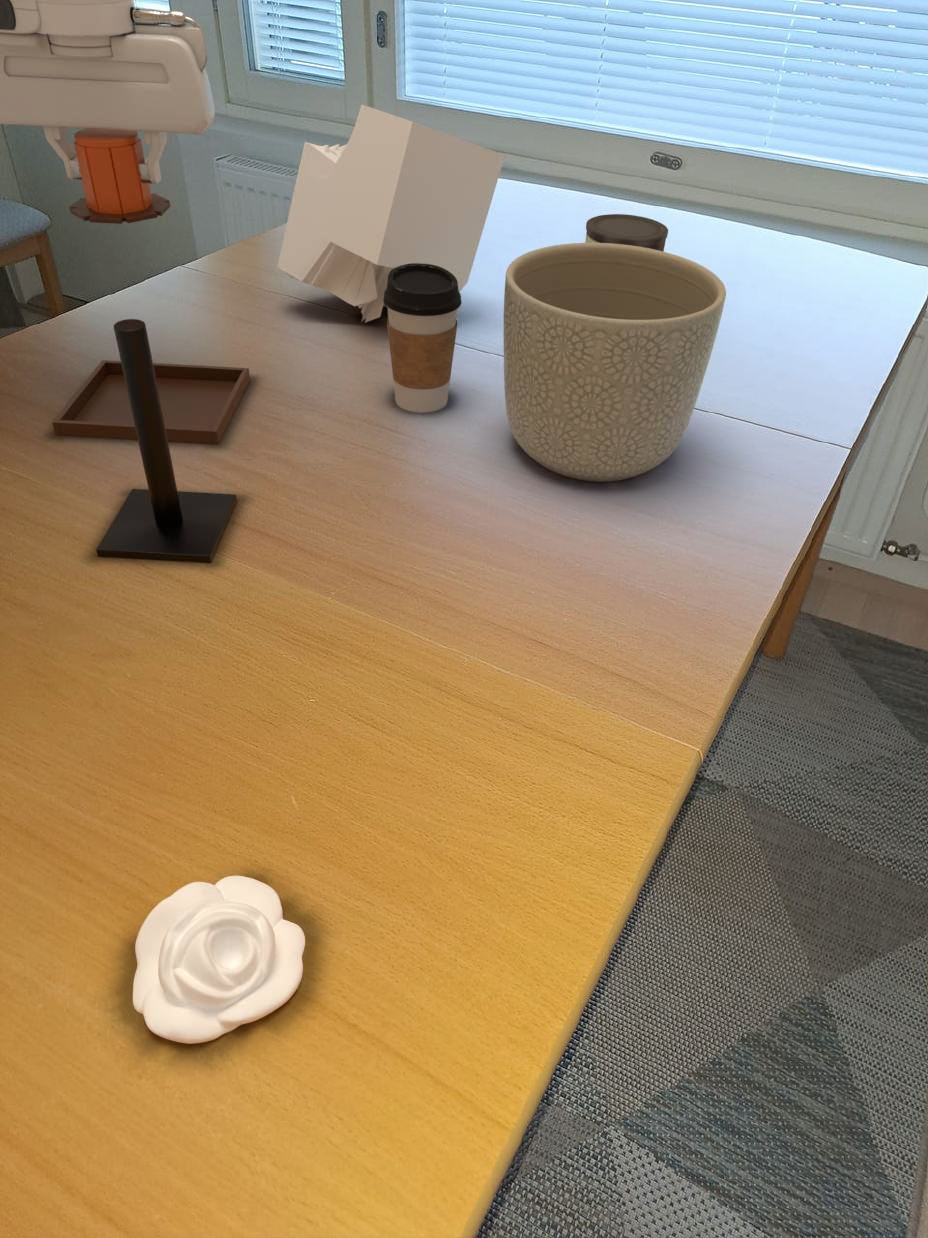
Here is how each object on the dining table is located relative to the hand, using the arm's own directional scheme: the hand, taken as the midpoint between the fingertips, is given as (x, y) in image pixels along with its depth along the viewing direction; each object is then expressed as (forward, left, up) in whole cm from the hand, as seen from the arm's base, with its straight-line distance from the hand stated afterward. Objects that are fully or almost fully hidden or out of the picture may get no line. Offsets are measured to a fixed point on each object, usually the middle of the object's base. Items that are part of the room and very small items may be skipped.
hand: (114, 179), depth 87 cm
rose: (+23, -65, -24) cm, 73 cm away
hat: (0, 0, -3) cm, 3 cm away
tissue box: (+22, +32, -24) cm, 46 cm away
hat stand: (+8, -23, -24) cm, 34 cm away
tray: (0, 0, -24) cm, 24 cm away
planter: (+48, -4, -24) cm, 54 cm away
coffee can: (+53, +29, -24) cm, 65 cm away
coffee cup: (+29, +5, -24) cm, 38 cm away
